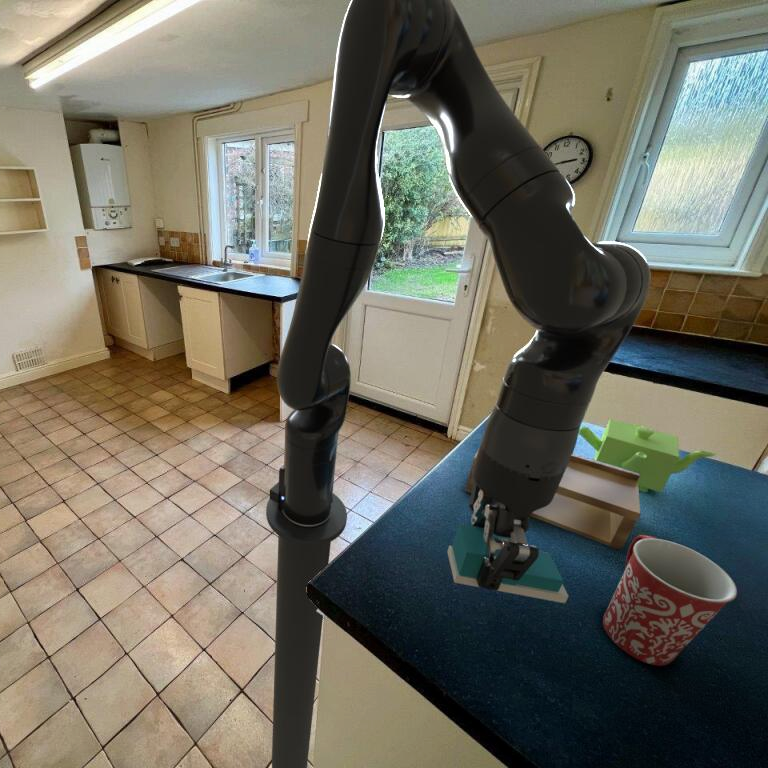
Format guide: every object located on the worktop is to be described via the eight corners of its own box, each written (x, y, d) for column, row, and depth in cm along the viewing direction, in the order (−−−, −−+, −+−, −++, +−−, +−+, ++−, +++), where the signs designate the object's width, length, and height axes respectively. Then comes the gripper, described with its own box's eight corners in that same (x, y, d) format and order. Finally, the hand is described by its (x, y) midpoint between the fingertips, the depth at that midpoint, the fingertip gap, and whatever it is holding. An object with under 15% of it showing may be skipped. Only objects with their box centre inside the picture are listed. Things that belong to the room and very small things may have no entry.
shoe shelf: (464, 491, 81) (475, 453, 77) (477, 464, 89) (487, 428, 85) (621, 550, 68) (643, 508, 64) (620, 512, 76) (639, 473, 72)
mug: (698, 687, 49) (757, 613, 44) (606, 657, 53) (649, 584, 47) (655, 599, 60) (698, 530, 54) (580, 578, 63) (613, 511, 57)
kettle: (693, 497, 79) (721, 449, 74) (626, 504, 78) (650, 455, 73) (622, 452, 93) (642, 408, 88) (564, 456, 91) (581, 412, 86)
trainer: (454, 582, 48) (464, 552, 46) (447, 551, 52) (455, 522, 50) (565, 603, 46) (581, 572, 44) (549, 569, 50) (562, 539, 48)
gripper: (467, 411, 49) (438, 519, 56) (503, 490, 36) (459, 616, 44) (537, 418, 47) (497, 528, 55) (600, 504, 35) (537, 631, 42)
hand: (481, 567), depth 49 cm, fingers closed on trainer, 4 cm apart
